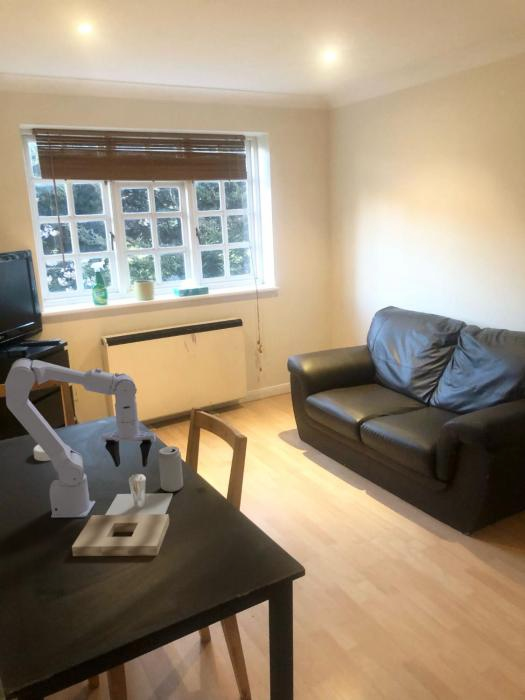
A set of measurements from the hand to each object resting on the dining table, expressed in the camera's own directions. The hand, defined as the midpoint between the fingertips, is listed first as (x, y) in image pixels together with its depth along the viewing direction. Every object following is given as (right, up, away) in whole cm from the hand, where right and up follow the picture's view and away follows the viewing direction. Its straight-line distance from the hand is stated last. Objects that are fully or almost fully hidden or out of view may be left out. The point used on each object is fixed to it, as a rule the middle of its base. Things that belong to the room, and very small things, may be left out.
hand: (131, 465), depth 152 cm
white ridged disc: (-36, -4, +35) cm, 50 cm away
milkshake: (+3, -11, -3) cm, 12 cm away
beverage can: (+10, -9, +8) cm, 16 cm away
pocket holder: (+2, -15, -17) cm, 22 cm away
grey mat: (+3, -11, -1) cm, 11 cm away
